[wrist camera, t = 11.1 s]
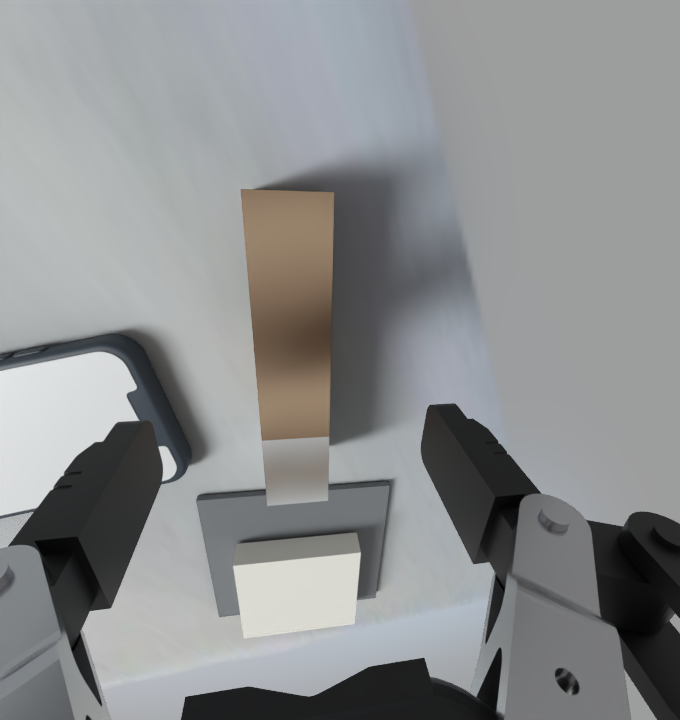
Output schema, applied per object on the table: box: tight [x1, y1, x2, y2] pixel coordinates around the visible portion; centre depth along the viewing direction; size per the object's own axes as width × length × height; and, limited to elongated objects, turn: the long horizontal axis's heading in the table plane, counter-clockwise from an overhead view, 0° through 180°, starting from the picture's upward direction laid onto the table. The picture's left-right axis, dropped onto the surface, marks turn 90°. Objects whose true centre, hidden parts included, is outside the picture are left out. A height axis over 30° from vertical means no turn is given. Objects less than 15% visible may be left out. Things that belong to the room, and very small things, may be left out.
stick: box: [241, 189, 334, 506], centre depth 16 cm, size 14×3×4 cm, turn 178°
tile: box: [233, 532, 361, 638], centre depth 24 cm, size 2×8×8 cm
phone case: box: [0, 334, 192, 519], centre depth 18 cm, size 9×2×16 cm
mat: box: [196, 481, 390, 617], centre depth 25 cm, size 12×12×1 cm
